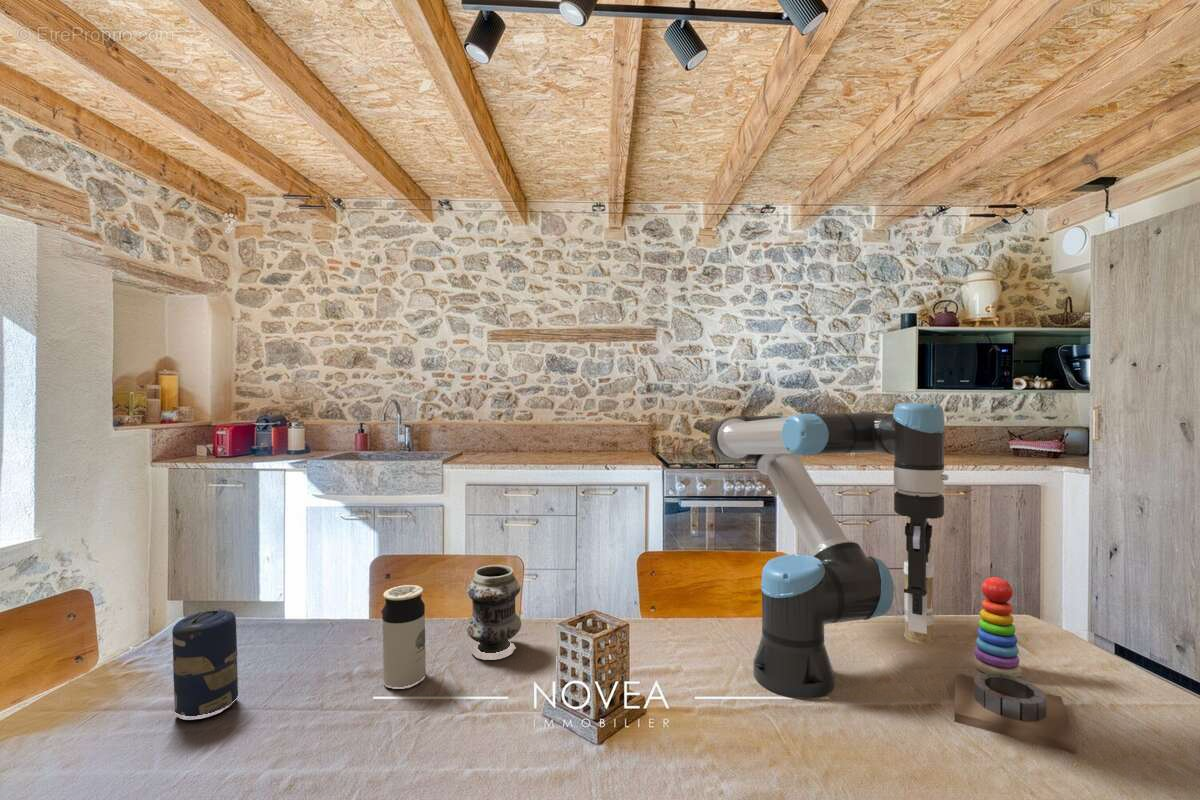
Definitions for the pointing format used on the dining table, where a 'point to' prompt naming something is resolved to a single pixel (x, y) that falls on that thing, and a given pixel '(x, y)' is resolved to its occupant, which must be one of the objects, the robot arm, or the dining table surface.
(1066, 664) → the dining table surface
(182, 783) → the dining table surface
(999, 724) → the base board
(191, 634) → the canister
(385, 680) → the travel mug
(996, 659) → the stacking toy
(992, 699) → the collar
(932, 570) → the sprinkles bottle
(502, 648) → the apothecary jar
